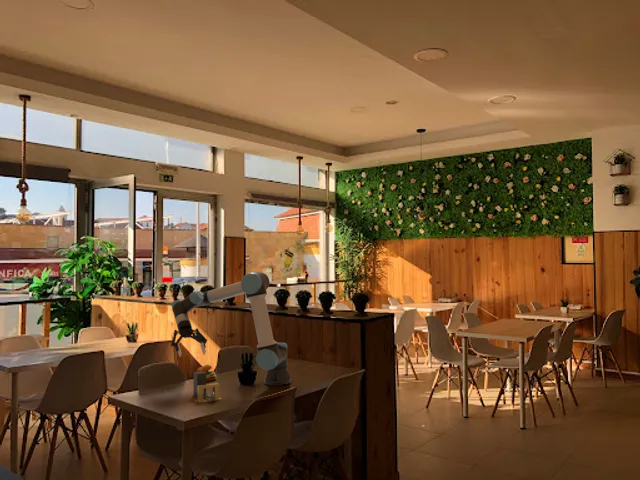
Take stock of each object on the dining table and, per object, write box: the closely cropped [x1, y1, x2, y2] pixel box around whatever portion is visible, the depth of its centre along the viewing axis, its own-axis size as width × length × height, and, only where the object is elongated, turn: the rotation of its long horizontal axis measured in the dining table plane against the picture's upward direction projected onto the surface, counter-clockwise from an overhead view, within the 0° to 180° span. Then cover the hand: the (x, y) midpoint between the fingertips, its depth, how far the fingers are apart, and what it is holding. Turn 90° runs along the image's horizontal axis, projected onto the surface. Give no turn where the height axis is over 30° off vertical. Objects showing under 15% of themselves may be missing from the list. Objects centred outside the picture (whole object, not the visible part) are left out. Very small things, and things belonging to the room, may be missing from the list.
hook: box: [192, 371, 216, 402], centre depth 275 cm, size 5×21×12 cm, turn 35°
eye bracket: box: [194, 382, 223, 404], centre depth 273 cm, size 12×6×8 cm, turn 125°
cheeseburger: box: [196, 364, 217, 382], centre depth 320 cm, size 10×11×10 cm
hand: (192, 354), depth 294 cm, fingers open, 13 cm apart
